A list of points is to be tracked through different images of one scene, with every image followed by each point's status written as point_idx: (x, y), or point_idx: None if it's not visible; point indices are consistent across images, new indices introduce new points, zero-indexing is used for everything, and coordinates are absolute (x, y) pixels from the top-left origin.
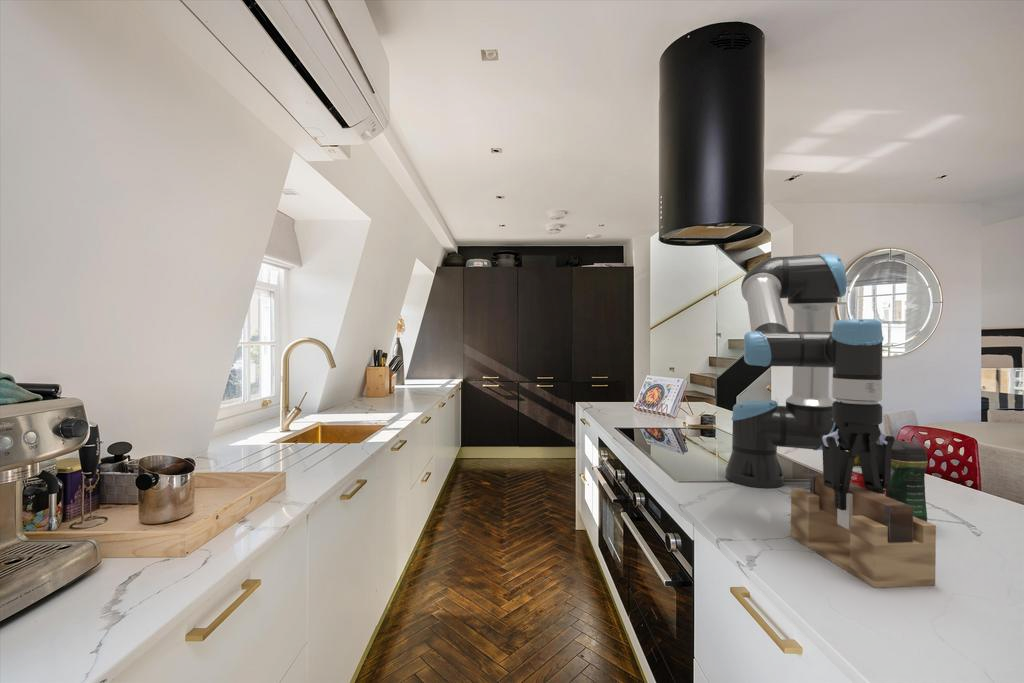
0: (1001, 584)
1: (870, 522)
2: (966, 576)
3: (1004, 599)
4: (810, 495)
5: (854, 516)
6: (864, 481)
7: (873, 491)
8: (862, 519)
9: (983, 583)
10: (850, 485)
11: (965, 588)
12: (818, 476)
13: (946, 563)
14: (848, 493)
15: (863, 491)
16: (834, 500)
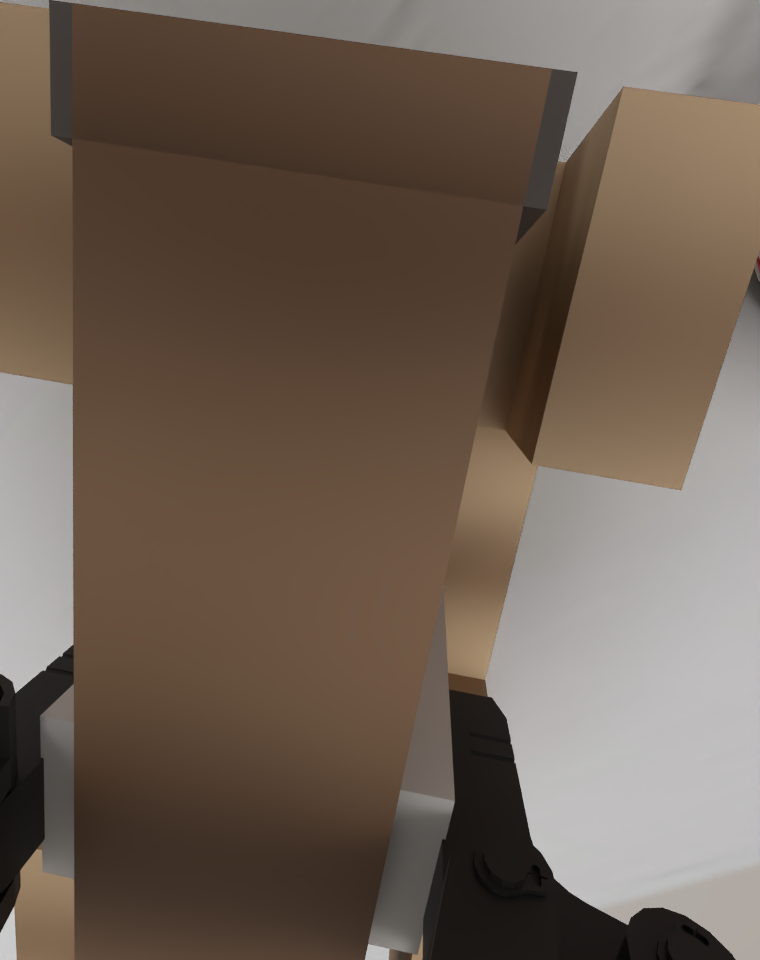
0: (735, 838)
1: (58, 954)
2: (680, 765)
3: (589, 888)
4: (45, 333)
5: (31, 862)
6: (430, 954)
7: (424, 936)
8: (46, 909)
9: (671, 813)
10: (309, 727)
11: (546, 812)
12: (190, 113)
13: (757, 672)
14: (59, 853)
15: (236, 938)
16: (48, 666)
